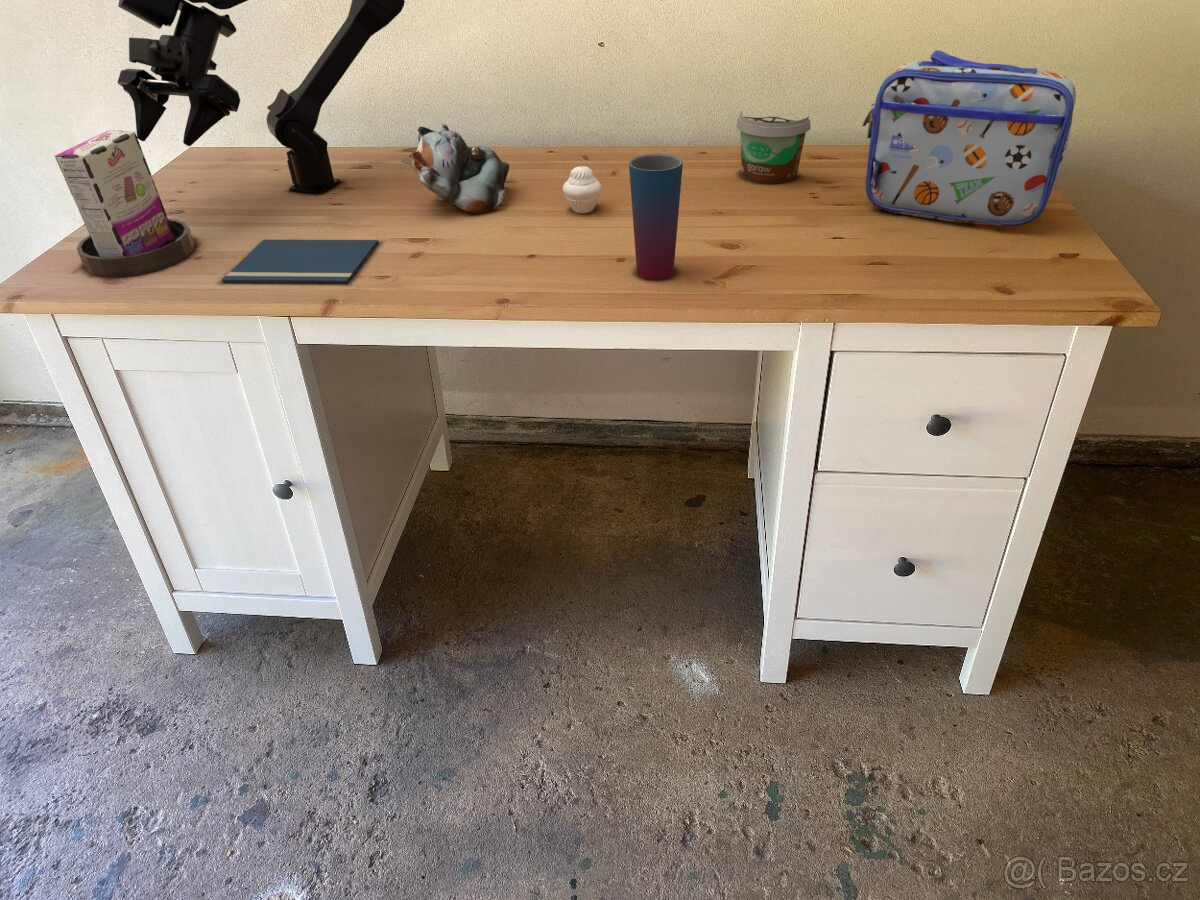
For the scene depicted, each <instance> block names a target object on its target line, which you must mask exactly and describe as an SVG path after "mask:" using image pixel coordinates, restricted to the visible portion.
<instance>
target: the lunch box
mask: <svg viewBox="0 0 1200 900" xmlns="http://www.w3.org/2000/svg"><path fill="white" fill-rule="evenodd" d="M929 58H930V60H922V61H911V62H907V63H904V64H902V65H900V66H898V67H897V68H896V69H895V70H894V72H892V73H891V74H890V75H888V76H887V77H886V78H885V79H884V80H883V82H882V84H881V85H880V87H879V89H878V92H877V95H876V97H875V102H874V103H871V106H870V110H869V111H868V112H867V114H866V115H865V118H864V120H863V122H862V124H861V127H866V126H867V125H868V128H867V135H866V139H869V140H870V141H869V147H868V157H867V164H866V175H865V193H866V196H867V198H868V200H869V202H870V203H871V204H872V205H873V206H875V207H876V208H878V209H880V210H882V211H886V212H889V213H892V214H895V215H898V214H899V215H901V214H902V215H905V216H911V217H918V218H926V219H932V220H938V221H942V222H943V221H944V222H950V223H961V224H965V223H966V224H975V225H976V224H977V225H978V224H979V225H994V226H997V227H1016V226H1023V225H1027V224H1030V223H1032V222H1034V221H1036V219H1038V218H1039V217H1040V216H1041V215H1042V214H1043V212H1044V210H1045V209H1046V206H1047V204H1048V202H1049V199H1050V197H1051V196H1052V193H1053V191H1054V188H1055V186H1056V184H1057V181H1058V178H1059V174H1060V171H1061V167H1062V164H1063V161H1064V157H1065V153H1066V150H1067V147H1068V143H1069V139H1070V135H1071V132H1072V131H1071V129H1072V123H1073V116H1074V115H1073V114H1074V109H1075V105H1076V101H1077V92H1076V91H1077V90H1076V87H1075V84H1074V82H1073V81H1072V80H1071V79H1070V78H1068V77H1066V76H1065V75H1063V74H1060V73H1057V72H1052V71H1049V70H1044V69H1038V68H1037V67H1034V68H1032V67H1031V68H1029V67H1023V66H1022V67H1021V66H1016V65H1013V64H1005V63H1004V64H1001V63H983V62H977V61H972V60H967V59H963V58H960V57H957V56H954V55H951V54H948V53H947V52H945V51H943V50H938V49H935V50H934V51H933V52H932V53H931V54H930V57H929Z"/></svg>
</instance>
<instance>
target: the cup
mask: <svg viewBox="0 0 1200 900" xmlns="http://www.w3.org/2000/svg"><path fill="white" fill-rule="evenodd" d="M683 167H684V161H683V159H682V158H681V157H680V156H677V155H675V154H671V153H670V154H669V153H664V152H663V153H662V152H652V153H651V152H650V153H643V154H639V155H636V156H633V157H632V158H630V159H629V160H628V172H629V185H630V186H629V187H630V199H631V212H632V224H633V239H634V252H635V253H634V254H635V267H636V274H637V275H638V277H640V278H641V279H644V280H648V281H660V280H661V281H662V280H665V279H668V278H670V277H672V276H673V275H674V272H675V259H676V248H677V236H678V223H679V212H680V202H681V201H680V200H681V189H682V180H683V179H682V177H683Z"/></svg>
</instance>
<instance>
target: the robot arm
mask: <svg viewBox="0 0 1200 900" xmlns="http://www.w3.org/2000/svg"><path fill="white" fill-rule="evenodd" d="M248 1H249V0H118V5H117V7H118V8H120V9H121V10H123V11H125V12H126V13H129V14H131V15H133V16H134V17H136V18H138V19H139V20H141V21H143V22H145V23H147V24H148V25H151V26H152V27H154V28H156V29H158V30H161V29H162V27H163V26H164V27H169V28H170V27H171V26H172V25H173V23H174V22H175V19H176V17H177V14H178V11H179V16H178V18H177V21H176V24H175V28H174V31H173V34H172V35H171V34H161V35H160V36H159V39H155V38H154V39H153V38H146V37H128V61H129V63H133V64H136V63H138V64H142V65H145V66H149V67H150V72H152V73H153V74H155V76H160V77H161V78H160V79H158V78H157V77H155V76H153V75H152V74H150V72H148V71H147V70H145V69H140V68H125V69H122V70H120V72H119V76H118V79H117V85H119V86H120V87H122V89H123V91H124V92H125V93H127V94H128V95H129V97H130V98H131V100H132V102H133V108H134V115H135V116H134V117H135V129H136V130H135V132H136V136H137V138H138V141H140V142H146V140H147V139H148V138H149V136H150V135H151V134H152V132H153V130H154V129H155V127H156V126H157V124H158V122H159V121H160V120H161V118H162V116H163V115H164V114H165V112H166V110H167V107H166V106H165V104H166V103H168V102H169V99H170V96H176V97H177V96H178V97H188V100H189V104H190V108H189V112H188V116H187V119H186V120H187V121H186V125H185V129H184V133H183V140H182V143H183V144H184V145H185V146H187V147H191V146H192V145H194V144H195V143H196V142H197V141H198V140H199V139H200V138H201V137H202V136H204V134H206V132H208V131H209V130H210V129H211V128H212V127H213V126H215V125H216V124H217V123H219V122H220V121H221V120H223V118H225V117H229V116H230V115H231V112H235V113H237V112H238V110H239V107H240V104H241V98H240V94H239V91H238V90H236V88H234V87H233V86H232V85H230V84H229V83H228V82H227V81H225V80H224V79H223V78H222V77H221V76H219V75H218V74H211V73H209V71H216V69H217V66H218V64H217V63H216V62H215V61H214V60H213V57H214V54H215V49H216V47H217V43H218V40H219V37H220V35H221V36H223V37H225V38H230V37H232V35H234V34H235V33H236V32H237V27H236V26H235V24H234V23H233V21H232V19H231V17H230V14H228V13H226V14H223V15H220V14H219V13H216V12H215V11H213V10H211V9H210V8H208V7H206V6H205V5H201V6H198V5H195V4H204V3H205V4H207V5H209V6H211V7H212V8H214V9H216V10H220V11H221V10H229V9H232V8H234V7H237V6H239V5H241V4H244V3H245V2H248ZM405 2H406V0H351V3H350V7H349V11H348V14H347V17H346V19H345V20H344V22H343V23H342V24H341V26H340V27H339V29H338V30H337V31H336V33H335V34H334V36H333V38H332V39H331V41H330V42H329V43H328V44H327V46H326V47H325V49H324V51H323V52H321V54H320V56H319V57H318V58H317V60H316V61H315V63H314V65H313V66H312V67H311V69H310V70H309V72H308V73H307V74H306V76H305V77H304V79H303V80H302V82H301V83H300V85H299V86H298V87H297V88H296V89H295V88H294V90H292V91H291V92H289V93H288V92H287V91H286V90H284V89H283V88H280V89H279V91H278V93H277V94H276V97H275V99H274V101H273V102H272V103H271V104H269V105H267V106H266V108H267V110H268V113H267V115H266V125H267V129H268V131H269V133H270V135H272V137H274V138H275V139H276V140H277V141H278V143H280V144H281V145H282V146H283V147H285V148H286V149H289V150H288V151H286V157H287V160H286V162H287V166H288V171H289V174H290V178H291V182H292V184H293V185H291V186H289V187H288V189H289V191H291V192H301V193H308V194H309V193H310V194H322V193H324V192H325V191H327V190H328V189H330V188H332V187H334V186H337V184H340V182H341V178H336V177H334V174H333V168H332V165H331V161H330V156H329V151H328V144H329V143H328V141H326V139H325V138H324V137H322V135H320V134H319V132H317V131H316V126H317V124H318V121H319V116H320V112H321V110H322V107H323V105H324V103H325V102H326V101H327V99H328V97H330V95H331V93H332V92H333V91H334V89H335V87H336V86H337V85H338V83H340V80H342V78H343V77H344V75H345V73H346V72H347V71H348V69H349V68H350V66H351V65H352V63H353V62H354V61H355V59H356V58H357V57H358V56H359V54H360V52H362V50H363V48H364V47H365V45H366V44H367V42H368V41H369V40H370V38H371V37H372V36H374V35H375V34H376V33H378V32H379V31H381V30H382V29H384V28H385V27H387V26H388V25H389V24H390V23H391V22H392V21H393V20H395V18H397V16H399V14H400V13H401V12H402V11H403V9H404V6H405Z"/></svg>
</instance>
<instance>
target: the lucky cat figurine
mask: <svg viewBox="0 0 1200 900" xmlns="http://www.w3.org/2000/svg"><path fill="white" fill-rule="evenodd" d="M417 131H418V137H417V138H418V139H417V141H418V142H417V148H416V151H411V153H410V158H411V159H412V168H413V171H414V172H415V173H416V174H417V175H418V177H419V181H420V182H421V184H422V185H423V186H424V187H426V189H427V190H429V191H430V192H432V193H433V194H434V195H436V197H437V199H438V201H445V202H447V203H450V204H453V205H455V206H457V207H458V208H460V209H461V210H464V211H465V212H468V213H470V214H474V215H476V214H481V213H486V212H491V211H493V210H494V209H495V208H496V207H498V206H499V205H500V204H501V203H502V201H503V200H504V198H505V196H506V195H505V193H506V190H505V184H506V181H507V178H508V174H509V171H510V163H509V162H506V161H502V160H501V159H500V156H498V154H497V153H496V152H495V151H494V150H492V149H491V148H489V147H486V146H476V145H475V146H472V147H471V146H468V144H467V143H466V141H465V139H463V137H462V135H461V134H460V133H458V132H457V131H454V130H450V128H449V127H448V125H447V124H446V123H441V124H439V125H438V128H437V129H436V130H432V129H430V128H428V127H425V126H419V127H418V128H417Z"/></svg>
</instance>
